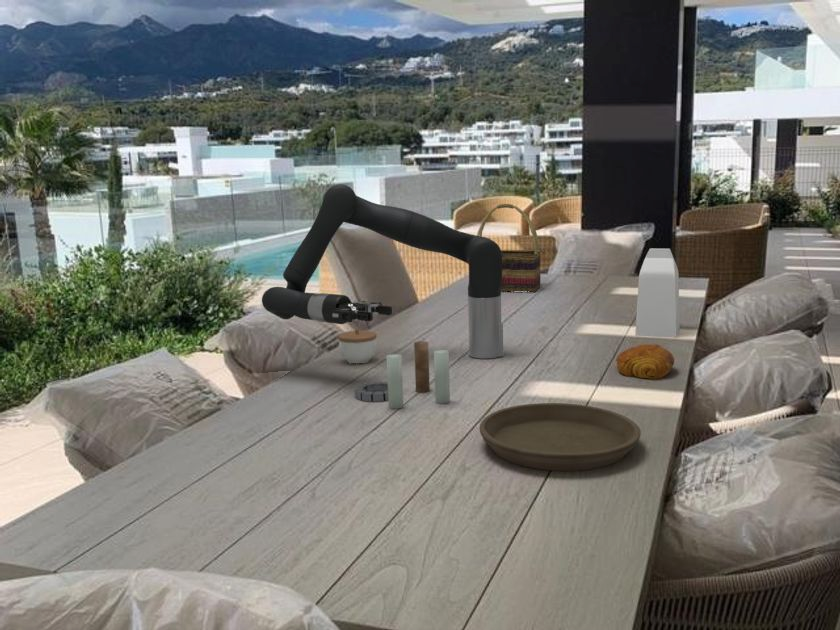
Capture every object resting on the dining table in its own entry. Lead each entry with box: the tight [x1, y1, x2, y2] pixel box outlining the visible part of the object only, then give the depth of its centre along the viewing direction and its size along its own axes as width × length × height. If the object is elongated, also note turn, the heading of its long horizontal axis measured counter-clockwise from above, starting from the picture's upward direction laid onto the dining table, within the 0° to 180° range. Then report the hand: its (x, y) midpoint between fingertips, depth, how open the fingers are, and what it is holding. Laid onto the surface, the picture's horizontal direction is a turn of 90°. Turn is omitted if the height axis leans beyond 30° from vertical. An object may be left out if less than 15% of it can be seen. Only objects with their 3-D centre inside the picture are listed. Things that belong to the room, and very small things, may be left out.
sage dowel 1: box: [386, 353, 404, 410], centre depth 193 cm, size 3×3×12 cm
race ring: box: [354, 380, 388, 403], centre depth 204 cm, size 11×11×2 cm
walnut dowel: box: [413, 340, 431, 393], centre depth 205 cm, size 3×3×12 cm
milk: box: [634, 248, 681, 339], centre depth 257 cm, size 12×12×26 cm
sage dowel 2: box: [433, 349, 451, 405], centre depth 195 cm, size 3×3×12 cm
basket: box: [476, 203, 542, 293], centre depth 342 cm, size 26×15×35 cm, turn 72°
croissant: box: [615, 344, 675, 380], centre depth 216 cm, size 14×16×8 cm
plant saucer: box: [478, 402, 642, 472], centre depth 165 cm, size 31×31×5 cm
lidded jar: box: [337, 328, 377, 365], centre depth 236 cm, size 11×11×9 cm
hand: (381, 313), depth 208 cm, fingers open, 8 cm apart
